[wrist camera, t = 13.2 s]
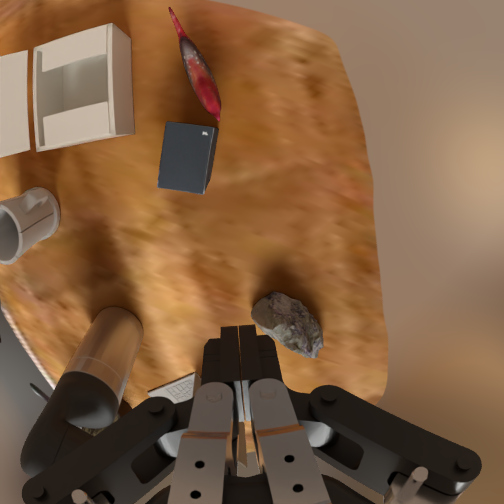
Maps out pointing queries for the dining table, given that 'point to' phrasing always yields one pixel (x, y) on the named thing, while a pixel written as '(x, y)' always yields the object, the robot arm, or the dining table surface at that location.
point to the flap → (13, 104)
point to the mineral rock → (289, 324)
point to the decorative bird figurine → (198, 72)
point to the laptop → (186, 391)
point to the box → (187, 157)
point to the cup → (26, 222)
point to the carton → (83, 88)
